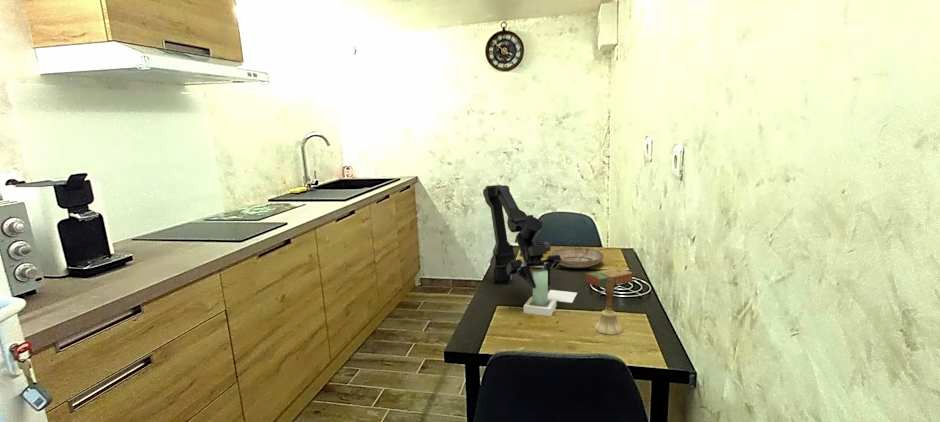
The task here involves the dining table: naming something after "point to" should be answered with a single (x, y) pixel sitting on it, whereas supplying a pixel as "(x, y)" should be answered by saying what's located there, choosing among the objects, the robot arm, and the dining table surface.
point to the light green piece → (540, 287)
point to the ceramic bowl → (578, 257)
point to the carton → (609, 277)
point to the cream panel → (562, 296)
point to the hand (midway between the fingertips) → (542, 286)
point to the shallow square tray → (540, 307)
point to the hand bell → (608, 314)
